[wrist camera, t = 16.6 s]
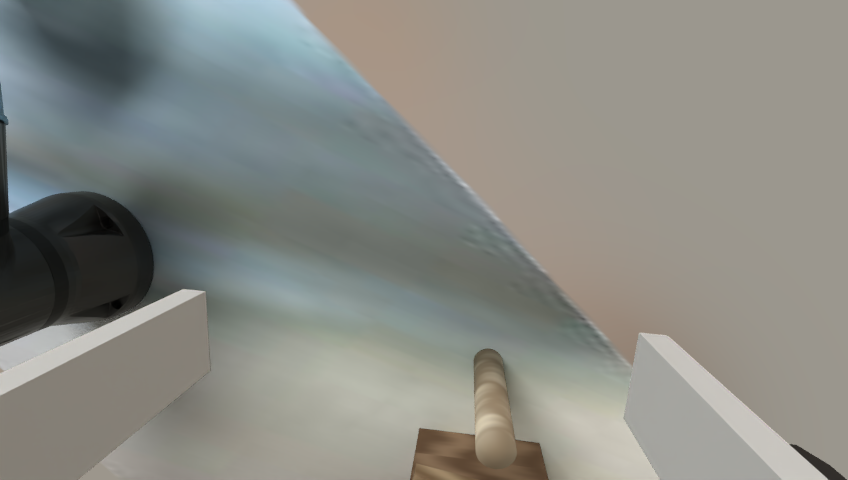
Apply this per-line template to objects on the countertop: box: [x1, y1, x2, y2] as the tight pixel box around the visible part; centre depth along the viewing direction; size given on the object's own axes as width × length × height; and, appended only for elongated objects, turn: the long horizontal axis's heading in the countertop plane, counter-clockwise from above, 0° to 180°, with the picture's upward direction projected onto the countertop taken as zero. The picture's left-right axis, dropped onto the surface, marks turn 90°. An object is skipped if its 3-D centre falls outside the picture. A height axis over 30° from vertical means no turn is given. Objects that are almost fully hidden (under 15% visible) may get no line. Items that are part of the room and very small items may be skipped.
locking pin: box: [474, 349, 517, 469], centre depth 38 cm, size 3×3×14 cm
